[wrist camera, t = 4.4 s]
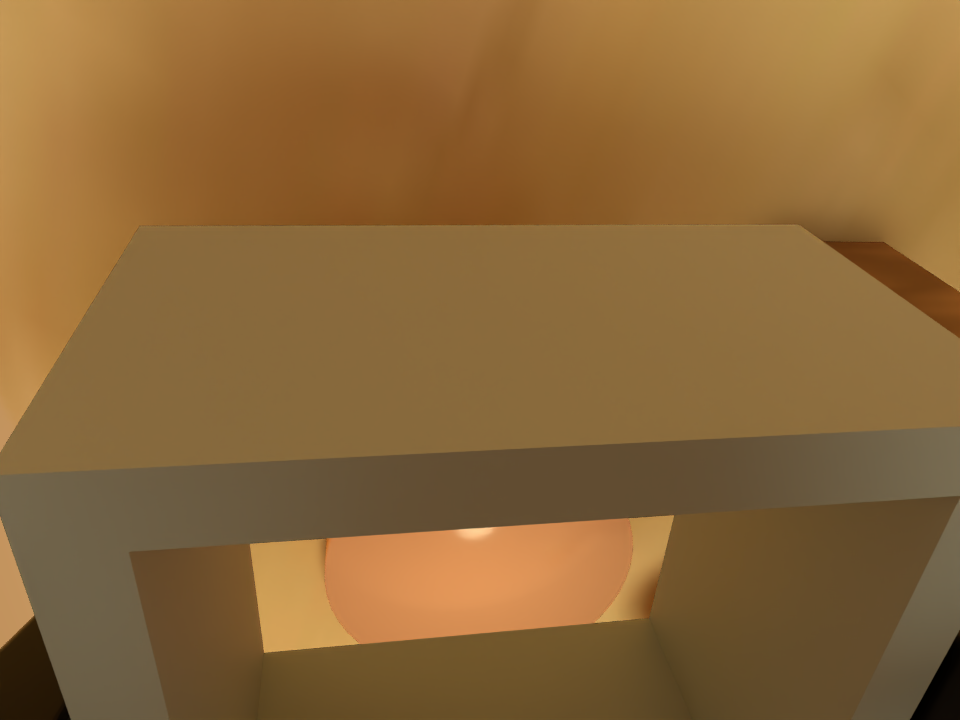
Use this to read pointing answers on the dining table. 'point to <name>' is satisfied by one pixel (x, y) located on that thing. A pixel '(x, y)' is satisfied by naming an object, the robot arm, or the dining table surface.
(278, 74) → the dining table surface
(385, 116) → the dining table surface
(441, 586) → the dish
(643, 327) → the collar
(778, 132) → the dining table surface
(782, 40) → the dining table surface
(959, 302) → the block
